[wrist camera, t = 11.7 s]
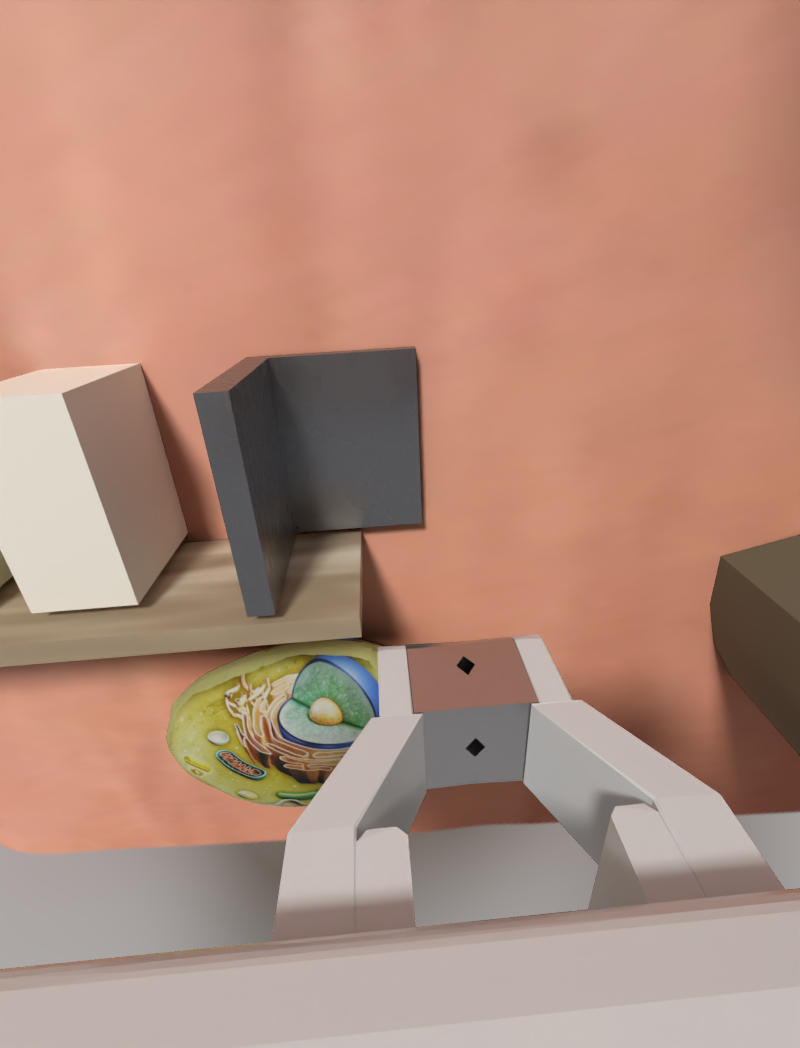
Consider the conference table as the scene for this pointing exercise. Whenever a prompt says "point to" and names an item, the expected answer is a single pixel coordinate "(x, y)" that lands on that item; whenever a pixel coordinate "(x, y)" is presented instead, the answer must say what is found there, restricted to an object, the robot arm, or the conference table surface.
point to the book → (762, 628)
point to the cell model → (276, 719)
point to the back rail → (198, 607)
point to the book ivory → (84, 488)
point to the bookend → (309, 453)
